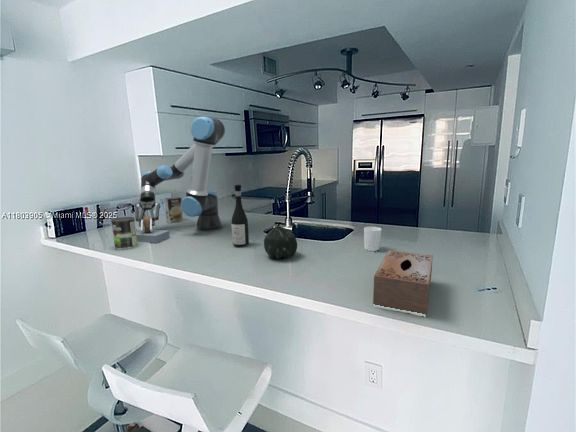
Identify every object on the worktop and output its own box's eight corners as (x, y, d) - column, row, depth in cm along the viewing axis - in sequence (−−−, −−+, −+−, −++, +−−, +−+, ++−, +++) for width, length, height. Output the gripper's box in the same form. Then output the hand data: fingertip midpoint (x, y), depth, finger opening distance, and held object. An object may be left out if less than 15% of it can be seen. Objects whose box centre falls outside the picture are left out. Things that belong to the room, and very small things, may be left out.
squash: (295, 237, 145) (274, 216, 139) (308, 247, 132) (286, 224, 126) (274, 259, 144) (252, 239, 138) (285, 271, 130) (262, 249, 124)
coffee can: (123, 250, 148) (119, 222, 145) (110, 248, 152) (106, 220, 150) (142, 244, 157) (139, 217, 154) (129, 242, 161) (125, 216, 158)
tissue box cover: (426, 318, 85) (428, 284, 83) (372, 307, 91) (374, 275, 89) (430, 282, 107) (432, 255, 105) (387, 276, 114) (388, 250, 111)
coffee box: (169, 223, 203) (167, 199, 200) (166, 221, 208) (164, 198, 205) (183, 221, 209) (181, 197, 206) (180, 219, 214) (177, 196, 211)
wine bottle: (244, 248, 148) (241, 186, 142) (229, 246, 151) (226, 185, 145) (251, 243, 156) (249, 184, 150) (237, 242, 158) (234, 183, 152)
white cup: (365, 246, 148) (366, 225, 146) (382, 248, 144) (383, 227, 142) (360, 250, 142) (361, 229, 140) (378, 253, 138) (379, 231, 136)
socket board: (169, 237, 169) (169, 230, 168) (156, 243, 159) (156, 236, 158) (141, 236, 173) (140, 229, 172) (127, 241, 163) (126, 234, 162)
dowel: (153, 237, 167) (150, 215, 165) (149, 239, 164) (146, 216, 161) (148, 237, 168) (145, 215, 165) (144, 238, 165) (141, 216, 162)
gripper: (164, 198, 179) (164, 233, 166) (133, 200, 174) (130, 236, 162) (162, 190, 173) (162, 226, 160) (129, 192, 168) (127, 228, 156)
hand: (146, 231), depth 161 cm, fingers open, 4 cm apart
